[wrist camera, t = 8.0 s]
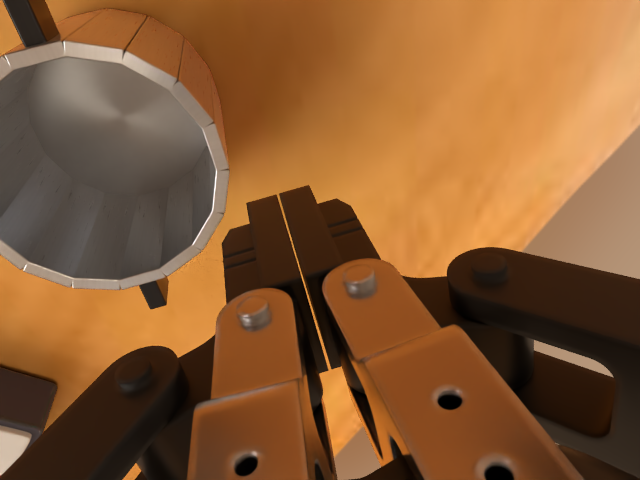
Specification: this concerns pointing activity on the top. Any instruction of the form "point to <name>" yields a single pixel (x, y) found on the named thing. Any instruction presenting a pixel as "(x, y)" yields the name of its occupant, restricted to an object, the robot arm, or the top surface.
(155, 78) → the pot
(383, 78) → the top surface
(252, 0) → the top surface
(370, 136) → the top surface
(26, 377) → the flat box
